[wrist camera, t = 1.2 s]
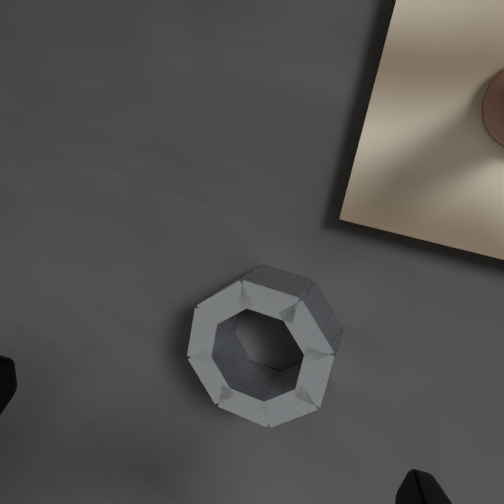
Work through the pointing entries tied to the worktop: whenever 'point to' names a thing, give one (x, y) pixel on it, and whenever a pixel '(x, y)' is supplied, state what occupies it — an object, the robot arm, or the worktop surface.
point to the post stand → (436, 128)
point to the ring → (253, 374)
